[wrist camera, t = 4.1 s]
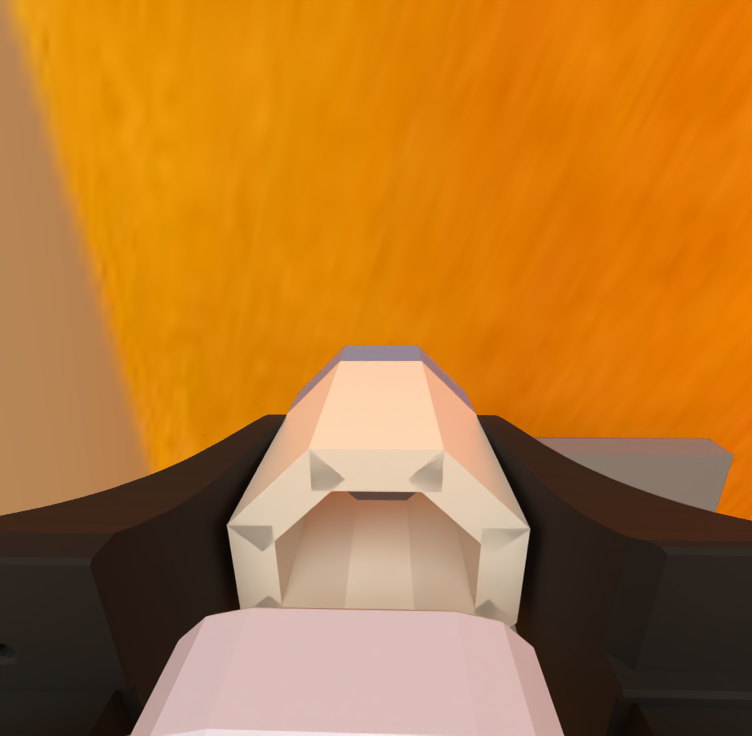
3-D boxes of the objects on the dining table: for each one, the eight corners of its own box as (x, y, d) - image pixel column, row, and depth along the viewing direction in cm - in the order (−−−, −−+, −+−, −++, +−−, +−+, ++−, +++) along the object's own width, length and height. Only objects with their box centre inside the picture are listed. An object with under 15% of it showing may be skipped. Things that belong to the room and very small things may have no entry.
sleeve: (468, 345, 12) (541, 450, 6) (458, 492, 14) (508, 678, 8) (295, 345, 12) (214, 448, 6) (307, 491, 14) (250, 673, 8)
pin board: (708, 438, 20) (824, 514, 15) (629, 710, 26) (688, 828, 21) (463, 437, 20) (490, 511, 15) (444, 705, 27) (458, 821, 21)
